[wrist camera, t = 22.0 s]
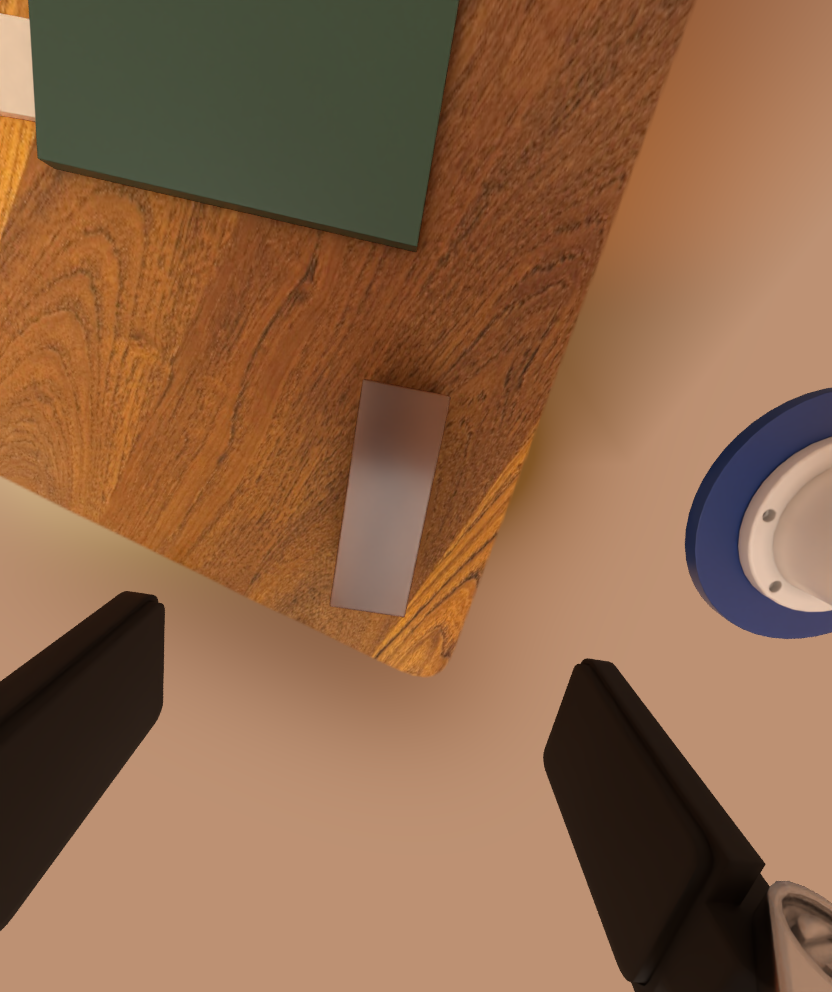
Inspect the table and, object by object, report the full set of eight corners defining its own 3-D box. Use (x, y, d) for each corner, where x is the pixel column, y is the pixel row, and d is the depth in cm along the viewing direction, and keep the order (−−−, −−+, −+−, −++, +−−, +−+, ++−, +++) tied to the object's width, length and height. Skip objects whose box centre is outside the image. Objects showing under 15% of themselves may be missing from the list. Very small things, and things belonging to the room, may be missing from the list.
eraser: (440, 394, 25) (451, 396, 19) (404, 574, 28) (404, 617, 23) (371, 380, 24) (363, 378, 19) (342, 564, 28) (329, 606, 23)
